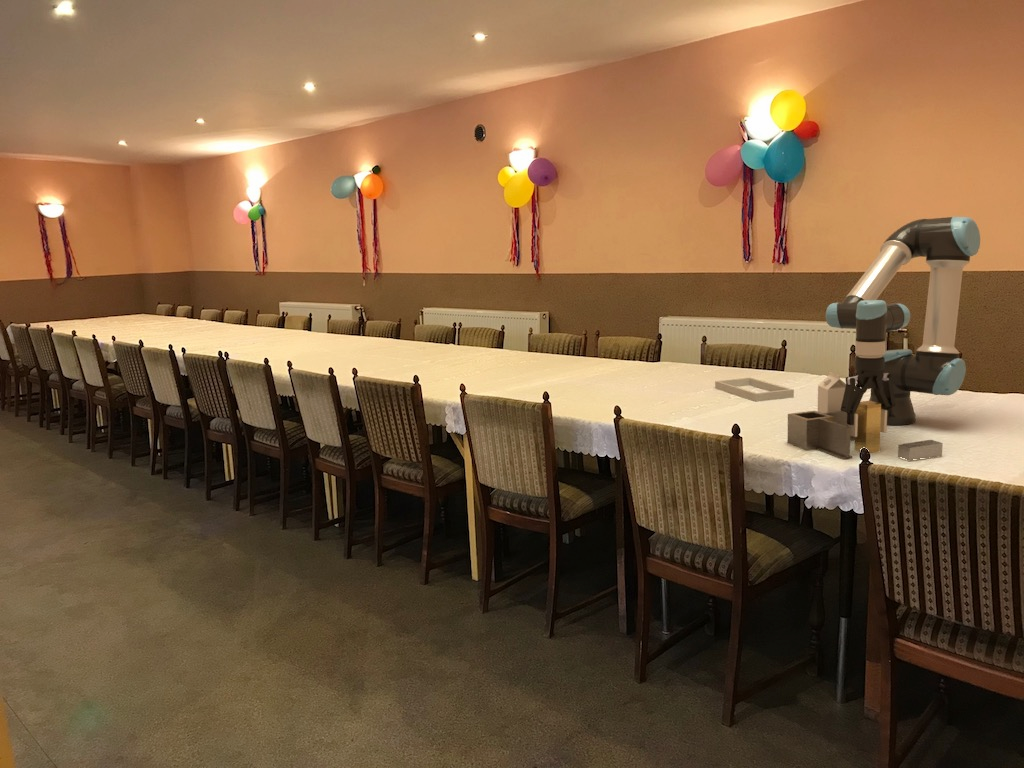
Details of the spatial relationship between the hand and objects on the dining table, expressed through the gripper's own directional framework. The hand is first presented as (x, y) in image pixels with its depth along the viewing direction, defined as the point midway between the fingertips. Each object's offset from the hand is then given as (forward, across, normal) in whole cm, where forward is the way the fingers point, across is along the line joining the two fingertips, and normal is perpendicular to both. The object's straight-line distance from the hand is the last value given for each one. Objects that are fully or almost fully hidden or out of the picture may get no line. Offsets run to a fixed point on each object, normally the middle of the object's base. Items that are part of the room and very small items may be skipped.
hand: (867, 433), depth 214 cm
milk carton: (+5, -4, -20) cm, 21 cm away
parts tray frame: (+5, -17, -86) cm, 88 cm away
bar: (+5, -8, +11) cm, 15 cm away
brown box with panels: (+5, +4, -6) cm, 9 cm away
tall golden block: (+5, 0, 0) cm, 5 cm away
